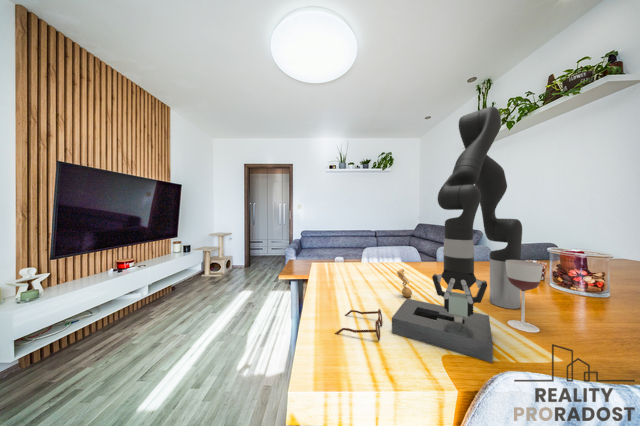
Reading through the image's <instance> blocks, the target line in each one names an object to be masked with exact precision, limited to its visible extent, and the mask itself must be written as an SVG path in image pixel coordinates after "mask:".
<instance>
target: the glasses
mask: <svg viewBox="0 0 640 426" xmlns="http://www.w3.org/2000/svg"><path fill="white" fill-rule="evenodd" d="M351 313H356V314H359V315H371V314H372V315H374V314H377V315H378V316H377V320H376V321H375V322H374V323H375V329H352V328H347V327H342V328H340V329H339V330H338V331H335V332H334V335H339V334H340V333H341V332H343V331H347V332H351V333H354V334H355V333H356V334H358V333H365V334H366V333H376V337H377V340H379V341H380V340H381V329H380V326H383V315H382V310H381V309H380V308H379V309H378V310H377V311H376V310H375V311H374V310H373V311H359V310H353V309H350V310H349V311H348V312H347V313H346V314H344V316H345V317H347V316H349V315H350V314H351Z"/></svg>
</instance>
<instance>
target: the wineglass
mask: <svg viewBox="0 0 640 426" xmlns="http://www.w3.org/2000/svg"><path fill="white" fill-rule="evenodd" d="M506 272H507V276H508V280H509V282H510V283H511V284H512V285H514V286H515V287H517V288H519V289H520V292H521V299H520V309H521V313H520V315H521V320H515V319H513V320H511V319H510V320H508V321H507V324H508V325H509V326H510V327H512V328H514V329H515V330H520V331H523V332H527V333H539V332H540V328H539V327H537V326H536V325H534V324H531V323H529V322H526V320H525V319H526V318H525V317H526V314H525V312H526V309H525V308H526V307H525V306H526V300H525V299H526V292H527V291H531V290H535V289H537V288H538V287H539V285H540V283H541V280H542V276H543V264H542V263H539V262H534V261H530V260H529V261H528V260H522V259H521V260H506Z"/></svg>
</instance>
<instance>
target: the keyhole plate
mask: <svg viewBox="0 0 640 426" xmlns="http://www.w3.org/2000/svg"><path fill="white" fill-rule="evenodd" d="M490 320H491V319H490V315H489V314H484V313H478V312H474V311H473V315H470V316H468V317H464V316H463V324H461V323H456V322H454V314H450V313H449V312H447V310H446V309H445V308H444V305H440V304H436V303H431V302H426V301H422V300H421V301H420V300H417V299H411V298H406V299H405V300H404V301H403V303H401V305H400V306H399V308H398V309H397V310H396V312H395V313H394V314H393V315H392V316H391V333H393V334H395V335H399V336H401V337H405V338H409V339H411V340H415V341H418V342H420V343H421V342H422V343H425V344H428V345H432V346H435V347H438V348H441V349H445V350H448V351H452V352H455V353H458V354H461V355H465V356H468V357H471V358H473V359H478V360H481V361H485V362H488V363H491V364H493V363H494V362H493V359H494V353H493V352H494V344H493V337H492V328H491V322H490Z"/></svg>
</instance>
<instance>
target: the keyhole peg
mask: <svg viewBox="0 0 640 426" xmlns="http://www.w3.org/2000/svg"><path fill="white" fill-rule="evenodd" d="M449 313H450V314H454V322H456V323H461V324H463V316H464V317H468V298H467V297H466V295H465V293H463V292H457V291H451V293H450V295H449Z"/></svg>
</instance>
